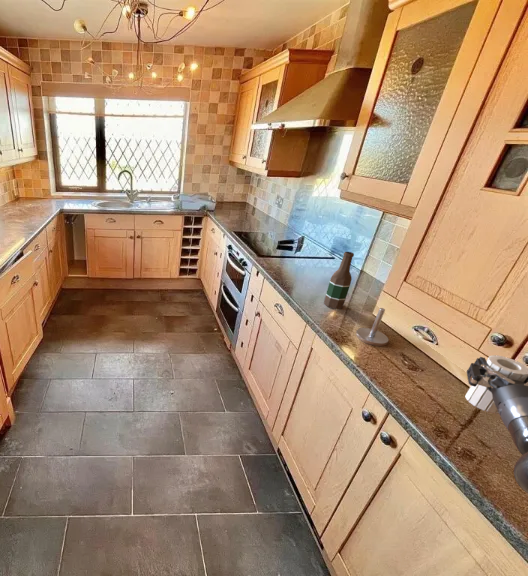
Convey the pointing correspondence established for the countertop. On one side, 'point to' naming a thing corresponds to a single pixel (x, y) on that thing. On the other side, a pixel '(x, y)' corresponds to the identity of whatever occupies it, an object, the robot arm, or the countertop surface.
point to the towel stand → (373, 332)
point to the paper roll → (497, 363)
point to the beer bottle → (339, 283)
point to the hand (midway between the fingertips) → (501, 365)
